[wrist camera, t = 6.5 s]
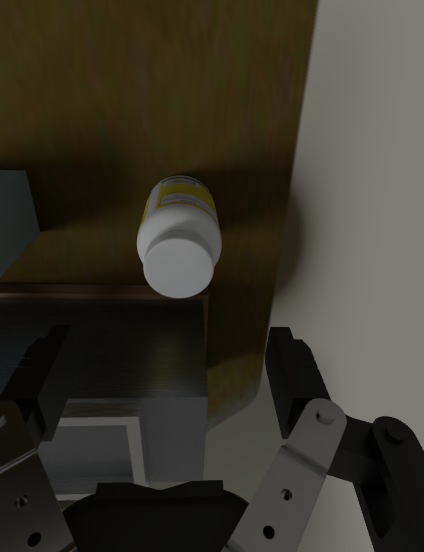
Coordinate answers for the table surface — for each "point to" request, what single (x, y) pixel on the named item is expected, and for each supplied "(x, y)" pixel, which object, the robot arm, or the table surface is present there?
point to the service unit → (118, 381)
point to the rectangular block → (15, 217)
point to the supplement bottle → (179, 237)
